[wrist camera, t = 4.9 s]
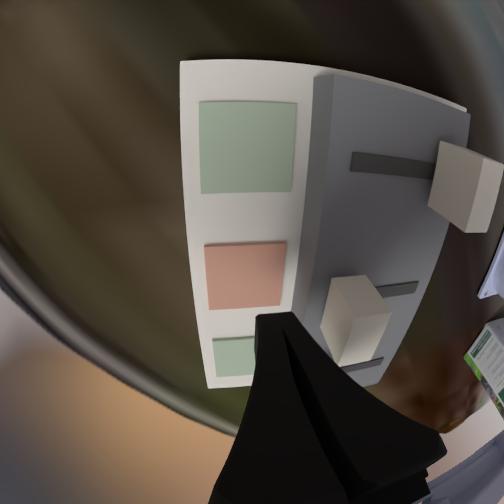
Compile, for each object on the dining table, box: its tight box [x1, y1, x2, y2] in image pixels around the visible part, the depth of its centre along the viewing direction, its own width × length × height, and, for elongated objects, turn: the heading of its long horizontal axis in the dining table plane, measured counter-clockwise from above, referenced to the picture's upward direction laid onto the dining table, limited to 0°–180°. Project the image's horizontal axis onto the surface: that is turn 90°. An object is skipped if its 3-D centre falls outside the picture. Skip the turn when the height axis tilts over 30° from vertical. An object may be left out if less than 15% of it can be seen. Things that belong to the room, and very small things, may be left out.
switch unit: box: [180, 59, 471, 388], centre depth 14 cm, size 14×19×3 cm
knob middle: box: [320, 275, 392, 367], centre depth 11 cm, size 2×3×2 cm, turn 179°
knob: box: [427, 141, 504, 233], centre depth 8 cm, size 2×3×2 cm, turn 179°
